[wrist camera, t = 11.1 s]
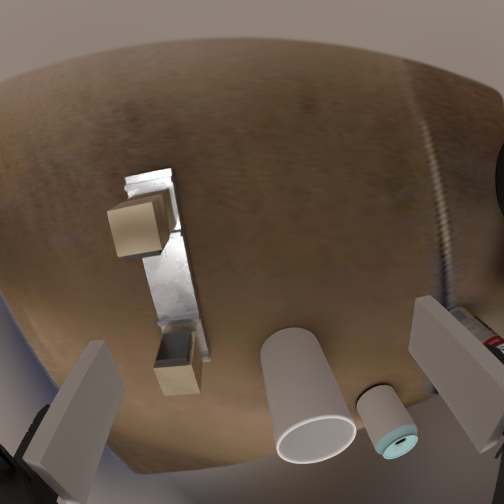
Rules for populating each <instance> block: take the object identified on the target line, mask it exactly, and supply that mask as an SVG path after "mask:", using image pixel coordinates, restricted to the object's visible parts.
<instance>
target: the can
mask: <svg viewBox="0 0 504 504" xmlns="http://www.w3.org/2000/svg"><path fill="white" fill-rule="evenodd" d="M357 410H358V413H359V415H360V417H361V419H362V421H363V423H364V426H365V428H366V430H367V432H368V434H369V437H370V439H371V441H372V443H373V445H374V448H375V450H376V452H377V453H379V454H381V455H383V457H384V458H386V459H393V458H396V457H399V456H401V455H403V454H405V453H407V452H408V451H409V450H411V449H412V448H413V447H414V446H415V444H416V443H417V440H418V437H417V427H416V425H415V424H414V422H413V420H412V419H411V417H410V415H409V414H408V412H407V410H406V409H405V407H404V406H403V404H402V402H401V401H400V399H399V397H398V396H397V394H396V393H395V391H394V389H393V388H392V387H391V386H389V385H380V386H376V387H373V388H371V389H370V390H368V391H367V392H365V393H364V394H363V395H362V396H361V398H360V399H359V400H358V402H357Z"/></svg>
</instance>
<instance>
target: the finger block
mask: <svg viewBox="0 0 504 504" xmlns="http://www.w3.org/2000/svg"><path fill="white" fill-rule="evenodd" d="M107 214H108V219H109V223H110V227H111V231H112V235H113V239H114V243H115V247H116V251H117V255H118V257H121V256H125V260H126V261H128V260H134V259H140V258H146V257H152V256H159V255H161V253H162V251H163V249H164V247H165V246H166V244H167V242H168V240H169V239H170V235H171V233H172V232H173V230H174V228H175V227H176V223H175V218H174V213H173V207H172V202H171V197H170V191H169V189H164V190H159V191H154V192H149V193H144V194H139V195H134V196H132V197H130V198H128V199H127V200H125V201H123V202H122V203H120V204H118V205H116V206H115V207H113V208H112V209H110V210H108V211H107Z"/></svg>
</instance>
